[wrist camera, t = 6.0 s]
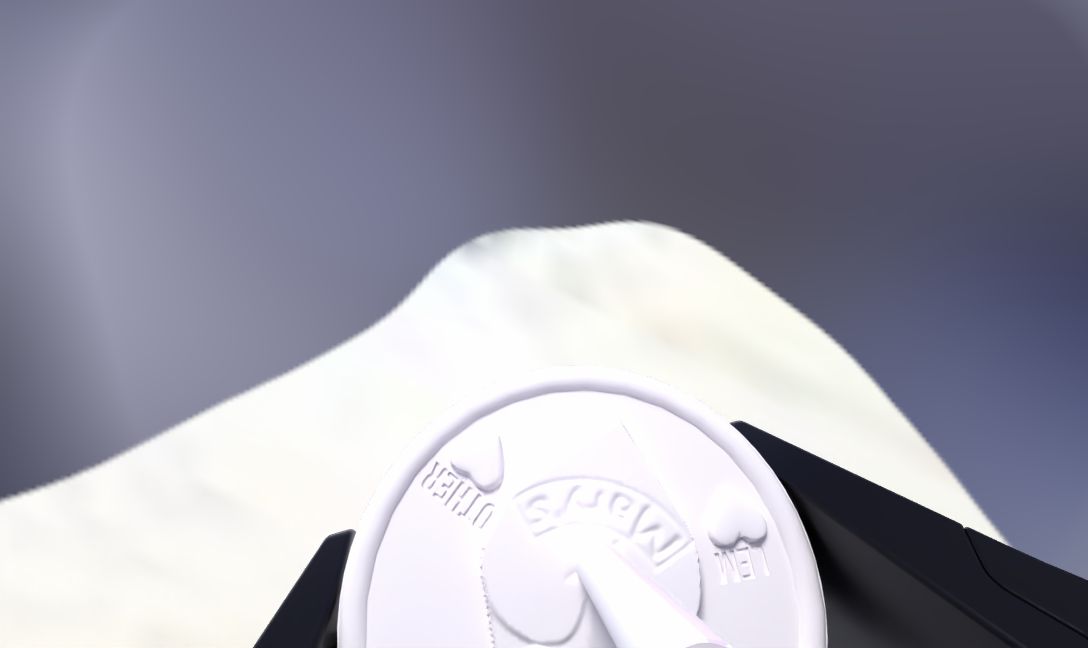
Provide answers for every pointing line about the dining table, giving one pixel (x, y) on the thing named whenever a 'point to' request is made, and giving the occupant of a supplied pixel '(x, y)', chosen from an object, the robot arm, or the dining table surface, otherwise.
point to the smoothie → (581, 527)
